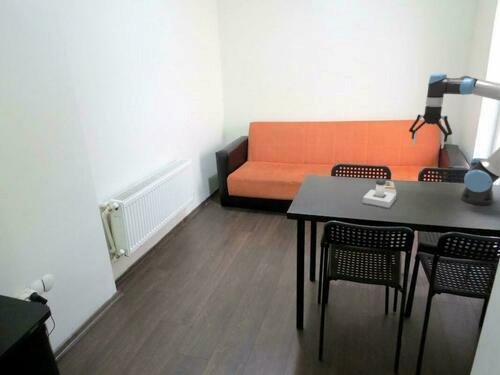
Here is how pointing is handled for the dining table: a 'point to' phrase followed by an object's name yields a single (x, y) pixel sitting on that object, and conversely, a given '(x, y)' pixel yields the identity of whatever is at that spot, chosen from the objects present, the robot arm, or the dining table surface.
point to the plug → (380, 188)
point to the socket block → (379, 199)
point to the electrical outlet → (390, 187)
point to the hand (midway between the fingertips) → (427, 146)
